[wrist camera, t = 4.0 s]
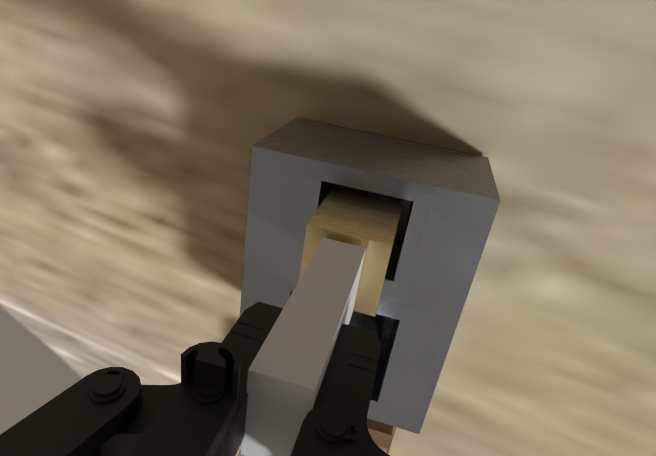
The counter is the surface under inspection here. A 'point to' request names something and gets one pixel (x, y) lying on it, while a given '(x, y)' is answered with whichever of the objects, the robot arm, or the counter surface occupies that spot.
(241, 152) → the counter surface
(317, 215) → the tan rectangular block
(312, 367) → the robot arm
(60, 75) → the counter surface
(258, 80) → the counter surface
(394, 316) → the chuck block
